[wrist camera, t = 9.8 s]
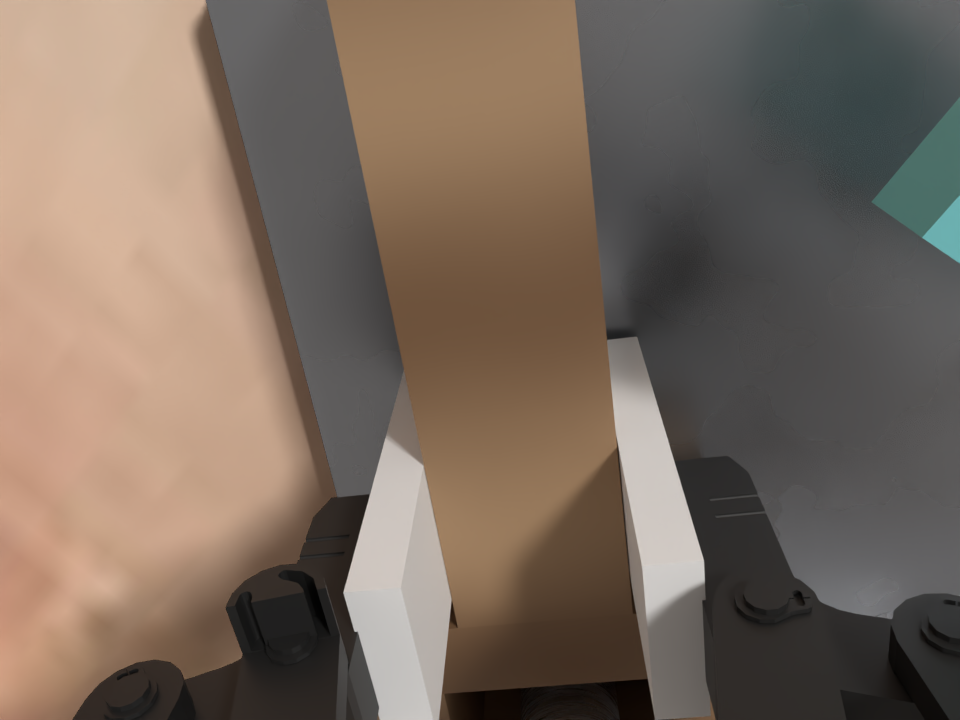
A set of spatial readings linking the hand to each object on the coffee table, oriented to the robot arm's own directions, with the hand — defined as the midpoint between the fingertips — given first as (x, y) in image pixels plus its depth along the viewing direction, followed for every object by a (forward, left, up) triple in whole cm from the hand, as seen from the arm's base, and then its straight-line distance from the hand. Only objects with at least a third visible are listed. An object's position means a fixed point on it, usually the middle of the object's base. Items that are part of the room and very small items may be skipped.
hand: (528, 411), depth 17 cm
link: (0, 0, 0) cm, 0 cm away
